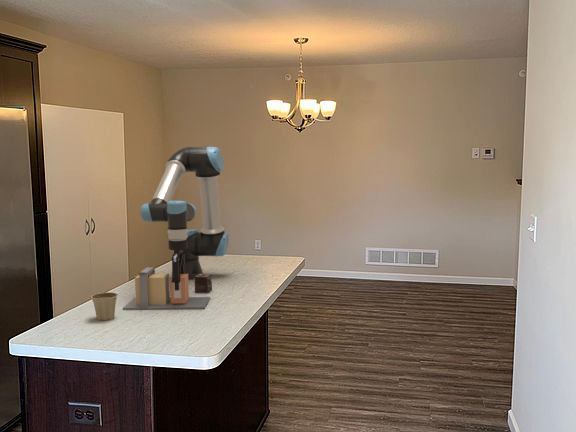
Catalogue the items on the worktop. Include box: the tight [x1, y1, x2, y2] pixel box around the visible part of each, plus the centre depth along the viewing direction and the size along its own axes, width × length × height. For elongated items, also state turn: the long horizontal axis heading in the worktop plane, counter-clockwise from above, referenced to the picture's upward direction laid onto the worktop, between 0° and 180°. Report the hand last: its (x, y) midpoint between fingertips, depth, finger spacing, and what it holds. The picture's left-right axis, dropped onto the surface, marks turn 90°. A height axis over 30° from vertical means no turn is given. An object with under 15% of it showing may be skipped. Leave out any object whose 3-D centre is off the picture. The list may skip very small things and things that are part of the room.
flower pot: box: [90, 292, 118, 321], centre depth 205 cm, size 9×9×9 cm
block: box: [169, 274, 190, 304], centre depth 224 cm, size 7×6×10 cm
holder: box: [122, 266, 211, 311], centre depth 223 cm, size 16×32×14 cm, turn 89°
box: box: [194, 273, 213, 294], centre depth 245 cm, size 6×6×7 cm
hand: (179, 295), depth 224 cm, fingers closed on block, 7 cm apart
